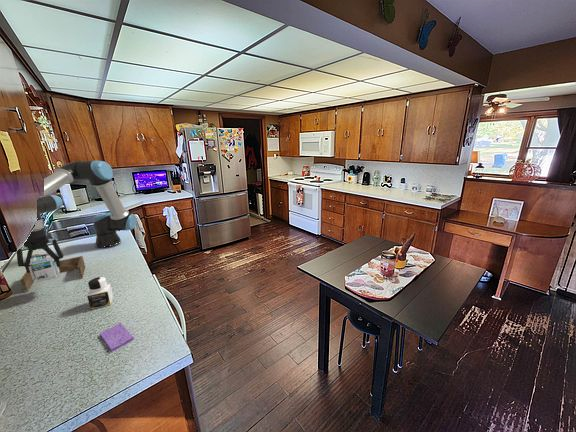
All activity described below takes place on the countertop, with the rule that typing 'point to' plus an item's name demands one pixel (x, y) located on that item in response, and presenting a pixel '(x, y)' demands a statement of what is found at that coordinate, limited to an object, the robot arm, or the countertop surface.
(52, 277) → the light bulb box
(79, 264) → the walnut u-shaped bracket
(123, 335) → the sponges
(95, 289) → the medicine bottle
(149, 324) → the countertop surface
